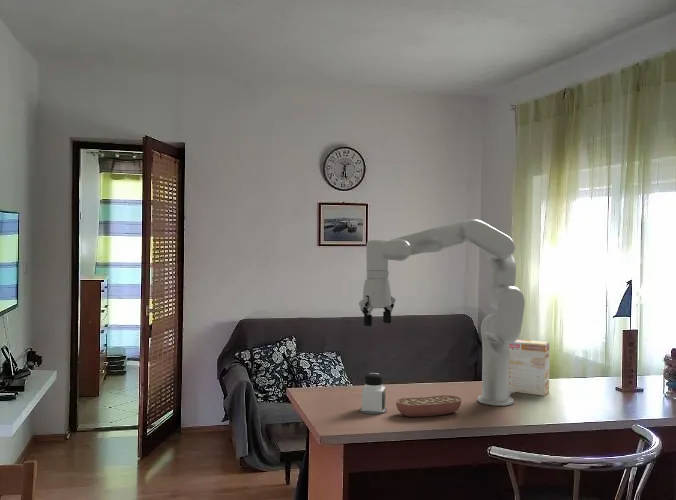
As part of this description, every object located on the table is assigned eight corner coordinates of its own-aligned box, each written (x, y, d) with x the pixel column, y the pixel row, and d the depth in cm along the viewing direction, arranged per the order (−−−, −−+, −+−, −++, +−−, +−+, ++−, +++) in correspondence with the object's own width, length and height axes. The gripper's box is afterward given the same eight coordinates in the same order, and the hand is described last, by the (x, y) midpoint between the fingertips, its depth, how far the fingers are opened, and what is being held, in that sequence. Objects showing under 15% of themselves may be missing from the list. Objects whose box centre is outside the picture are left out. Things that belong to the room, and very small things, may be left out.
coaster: (373, 405, 229) (373, 404, 229) (392, 411, 222) (392, 409, 222) (354, 410, 223) (354, 408, 223) (373, 415, 216) (373, 414, 216)
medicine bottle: (382, 412, 218) (382, 376, 218) (361, 411, 219) (361, 375, 219) (385, 406, 225) (385, 372, 225) (365, 405, 226) (365, 371, 226)
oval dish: (453, 408, 226) (453, 394, 226) (467, 416, 217) (467, 401, 217) (391, 413, 220) (392, 399, 219) (403, 421, 210) (403, 406, 210)
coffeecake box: (549, 392, 249) (550, 341, 249) (544, 396, 243) (545, 344, 243) (510, 387, 257) (511, 338, 257) (505, 391, 251) (505, 340, 251)
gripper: (386, 273, 236) (386, 321, 236) (352, 276, 224) (352, 326, 224) (401, 274, 230) (402, 322, 231) (367, 277, 218) (368, 328, 219)
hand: (377, 324), depth 227 cm, fingers open, 9 cm apart
